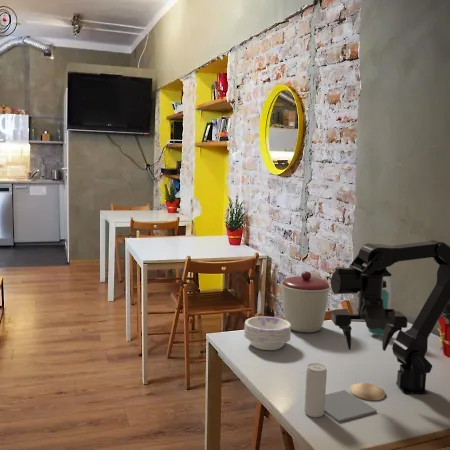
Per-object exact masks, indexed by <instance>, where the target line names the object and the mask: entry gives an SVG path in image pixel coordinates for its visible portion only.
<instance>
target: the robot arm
mask: <svg viewBox="0 0 450 450" xmlns="http://www.w3.org/2000/svg"><path fill="white" fill-rule="evenodd" d="M430 258H433V261H434V262H435V263H436V264H437V265H438V269H437V271H436V283H435V285H434V287H433V288H432V291H431V292H430V294H429V296H428V298H427V300H426V301H425V303H424V304H423V306H422V307H421V310H420V312H419V313H418V315H417V316H416V318H415V320H414V321H413V324H412V325H411V326H410V328H409V329H407V328H408V324H409V323H408V318H407V317H406V316H405V315H404V314H403V313H402V312H401V311H399V310H398V311H396V310H395V309H394V308H388V309H384V307H383V299H382V289H384V288H383V280H384V277H385V278H387V277H388V278H389V277H392V273H391V272H390V271H388V269H387V268H389V267H392V266H393V265H394V264H396V263H399V262H405V261H406V262H407V261H413V260H421V259H430ZM364 265H365V266H364ZM334 270H335V271H334V272H333V273H332V274H331V278H330V285H331V291H332V293H333V294H334V295H348V294H350V295H351V294H358V295H357V297H358V304H357V305H358V307H357V309H356V311H357V313H356V314H355V313H354V314H353V313H350V312H349V311H348V310H347V309H334V310H332V311H331V313H330V314H331V318H330V320H331V321H332V322H333V324H334V325H335V326H337V327H338V328H339V329H341V330H342V334H343V336H344V340H345V342H346V346H347V348H348V351H351V350H352V334H351V333H352V328H353V327H352V326H351V324H352V322H353V323H354V322H355V323H362V322H363V323H365V325H366V328H369V329H374V328H375V329H384V331H383V334H382V345H381V347H382V350H383V352H386V350H387V347H388V346H389V343H390V341H391V340H392V338H393V336H394V334H395V333H397V334H396V337H395V339H394V340H393V341H392V343H393V345H392V347H391V349H392V353H393V355H394V357H396V360H397V362H398V363H400V365H399V369H398V370H397V375H396V385H397V386H398V388H399V389H400V390H401V392H402V393H404V394H419V395H420V394H421V395H422V394H424V395H425V394H426V395H427V394H428V391H427V389H426V383H427V382H426V380H427V374H430V373H431V371H432V369H433V365H432V363H431V362H430V361H429V360H428V359H427V358H426V355H427V353H428V348H429V347H428V341H429V337H430V335H431V333H432V331H433V330H434V328H435V326H436V324H437V323H438V321H439V319H440V317H441V315H442V314H443V312H444V310H445V309H446V307H447V306H448V304H449V302H450V247H449V245H448V244H447V243H445V242H443V241H440V240H437V239H431V240H429V241H421V242H412V243H406V244H405V243H404V244H395V245H389V244H379V243H365V244H362V246H361V248H360V249H359V251H358V254H357V255H356V256H355V257H354V259H353V260H352V261H351V263H350V264H349V267H341V266H336V267H335V268H334ZM402 329H407V330H405V331H404V330H402Z"/></svg>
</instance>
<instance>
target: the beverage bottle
mask: <svg viewBox="0 0 450 450" xmlns="http://www.w3.org/2000/svg"><path fill="white" fill-rule="evenodd" d="M387 287H388V286H387V281H386V280H385V279H383V288H382V299H383V307H384V309H389V299H390V297H389V296H390V292H388V291H387V289H386V288H387ZM384 288H385V289H384ZM367 328H368V327H367ZM383 331H384V329H375V328H374V329H369V328H368V332H369V333H371V334H375V335H383Z"/></svg>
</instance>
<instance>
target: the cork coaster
mask: <svg viewBox="0 0 450 450" xmlns="http://www.w3.org/2000/svg"><path fill="white" fill-rule="evenodd" d="M349 391H350V392H349V393H350V394H352V395H353V396H355V397H357V398H358V399H360V400H364V401H371V402H372V401H373V402H374V401H379V400H383V399H384V398H385V396H386V392H385V390H384V388H382V387H380V386H378V385H375V384H372V383H364V382H363V383H361V382H359V383H355V384H352V385H351V386H350V388H349Z"/></svg>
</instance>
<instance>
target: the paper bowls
mask: <svg viewBox="0 0 450 450" xmlns="http://www.w3.org/2000/svg"><path fill="white" fill-rule="evenodd" d="M243 331H244V332H243V333H244V335H243V336H244V337H245V339H247V340H248V341H249V342H250V343H251V345H252V346H253V347H254V348H256V349H258V350H262V351H276V350H279V349H281V348H283V346H284V344H285V343H288V342H289V341H291V335H292V334H291V333H292V330H291V324H290V322H288V321H286V320H285V318H284V319H283V318H280V317H275V316H262V315H261V316H253V317H250V318H249V317H248V319H245V322H244V330H243Z"/></svg>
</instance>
